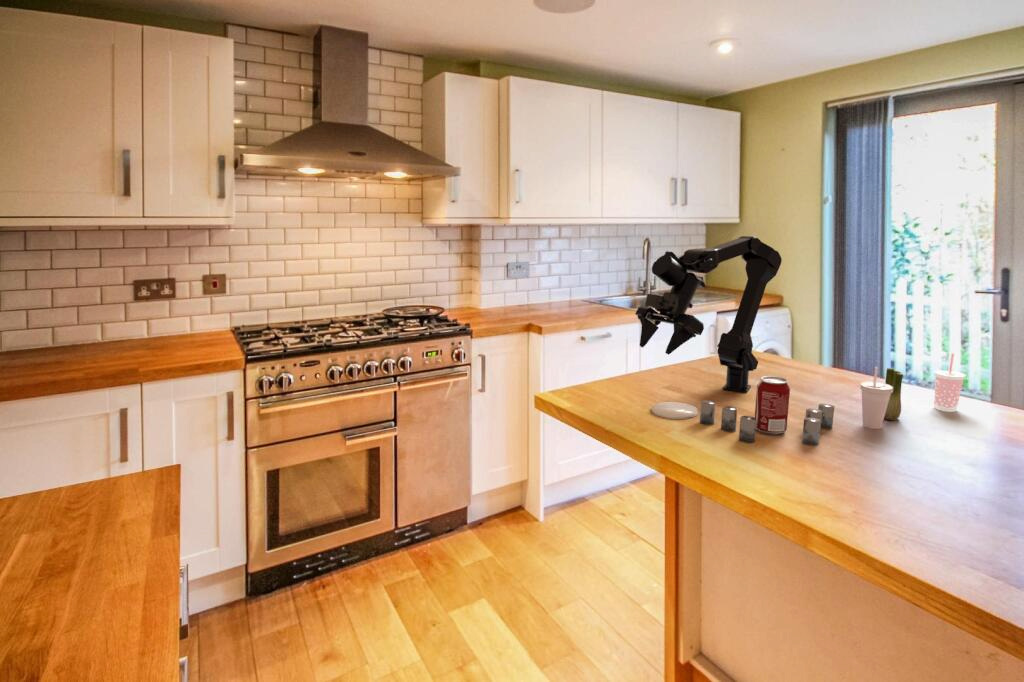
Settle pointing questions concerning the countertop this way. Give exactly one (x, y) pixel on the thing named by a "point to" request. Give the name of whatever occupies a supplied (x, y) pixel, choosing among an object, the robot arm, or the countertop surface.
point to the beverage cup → (948, 389)
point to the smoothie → (874, 402)
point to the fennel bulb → (894, 394)
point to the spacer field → (748, 423)
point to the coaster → (674, 410)
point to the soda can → (772, 405)
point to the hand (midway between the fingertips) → (653, 350)
